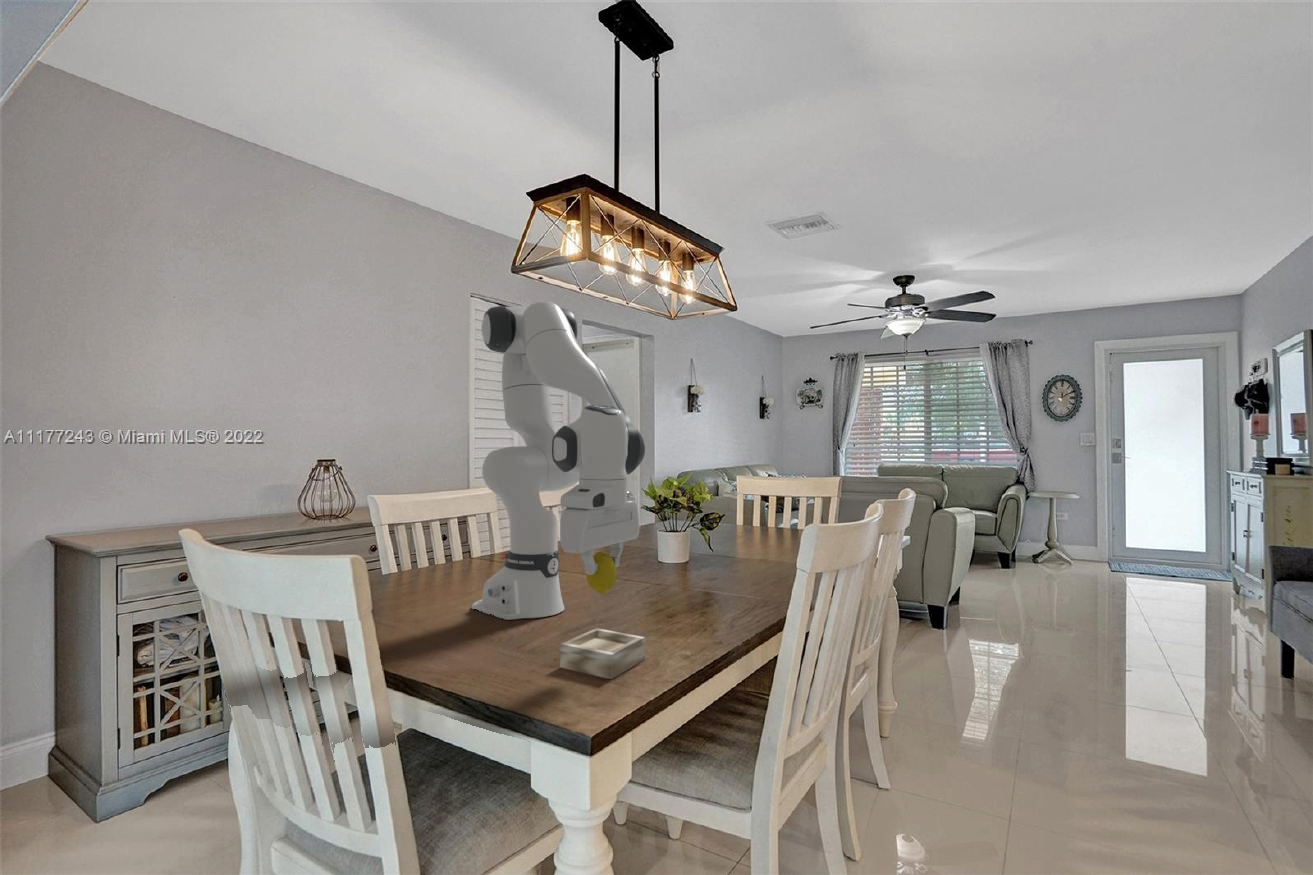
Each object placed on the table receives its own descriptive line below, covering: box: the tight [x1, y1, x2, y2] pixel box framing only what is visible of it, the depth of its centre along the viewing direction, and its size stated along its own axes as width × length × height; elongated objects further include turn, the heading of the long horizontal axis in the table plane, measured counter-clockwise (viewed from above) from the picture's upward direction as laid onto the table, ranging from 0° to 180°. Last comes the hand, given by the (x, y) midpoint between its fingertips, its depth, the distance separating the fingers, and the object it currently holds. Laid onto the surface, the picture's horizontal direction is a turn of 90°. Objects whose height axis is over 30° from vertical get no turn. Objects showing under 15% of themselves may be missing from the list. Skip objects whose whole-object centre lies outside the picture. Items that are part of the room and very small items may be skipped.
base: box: [559, 627, 646, 680], centre depth 116 cm, size 11×11×4 cm
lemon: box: [585, 551, 618, 596], centre depth 116 cm, size 6×6×8 cm
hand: (602, 570), depth 116 cm, fingers closed on lemon, 5 cm apart
